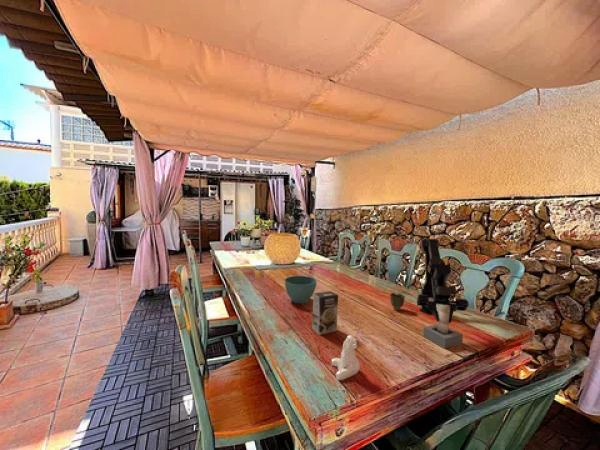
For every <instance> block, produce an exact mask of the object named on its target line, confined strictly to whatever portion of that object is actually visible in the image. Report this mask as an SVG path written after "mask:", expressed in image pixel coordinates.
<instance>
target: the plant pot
mask: <svg viewBox="0 0 600 450" xmlns="http://www.w3.org/2000/svg"><path fill="white" fill-rule="evenodd" d="M284 287H285V291H286V293H287V295H288V297H289V299H291V301H292V302H293V303H295V304H306V303H307V302H308V301H310V299H311V298H312V297H313V296H314V293H315V291H316V287H317V279H316V278H314V277H310V276H306V275H304V276H303V275H293V276H288V277H285V279H284Z"/></svg>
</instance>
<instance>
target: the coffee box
mask: <svg viewBox="0 0 600 450" xmlns="http://www.w3.org/2000/svg"><path fill="white" fill-rule="evenodd" d="M312 298H313V299H312V301H313V302H312V324H311V325H312V326H311V328H312V329H311V330H313V331H314V332H315V333H316V334H317V335H318V336H321V335H326V334H329V333H334V332H337V330H338V312H339V311H338V304H339V303H338V302H339V294H338V293H336V292H333V291H322V292H314V293H313V296H312Z"/></svg>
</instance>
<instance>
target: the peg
mask: <svg viewBox="0 0 600 450" xmlns="http://www.w3.org/2000/svg"><path fill="white" fill-rule="evenodd" d="M437 312H438V317H439V321H438V322H437V323H436V325H437V332H439V333H441V334H443V335H447V334H448V329H449V328H450V327H449V326H450V323H449V312H450V307H449V305H442V304H438V308H437Z"/></svg>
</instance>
